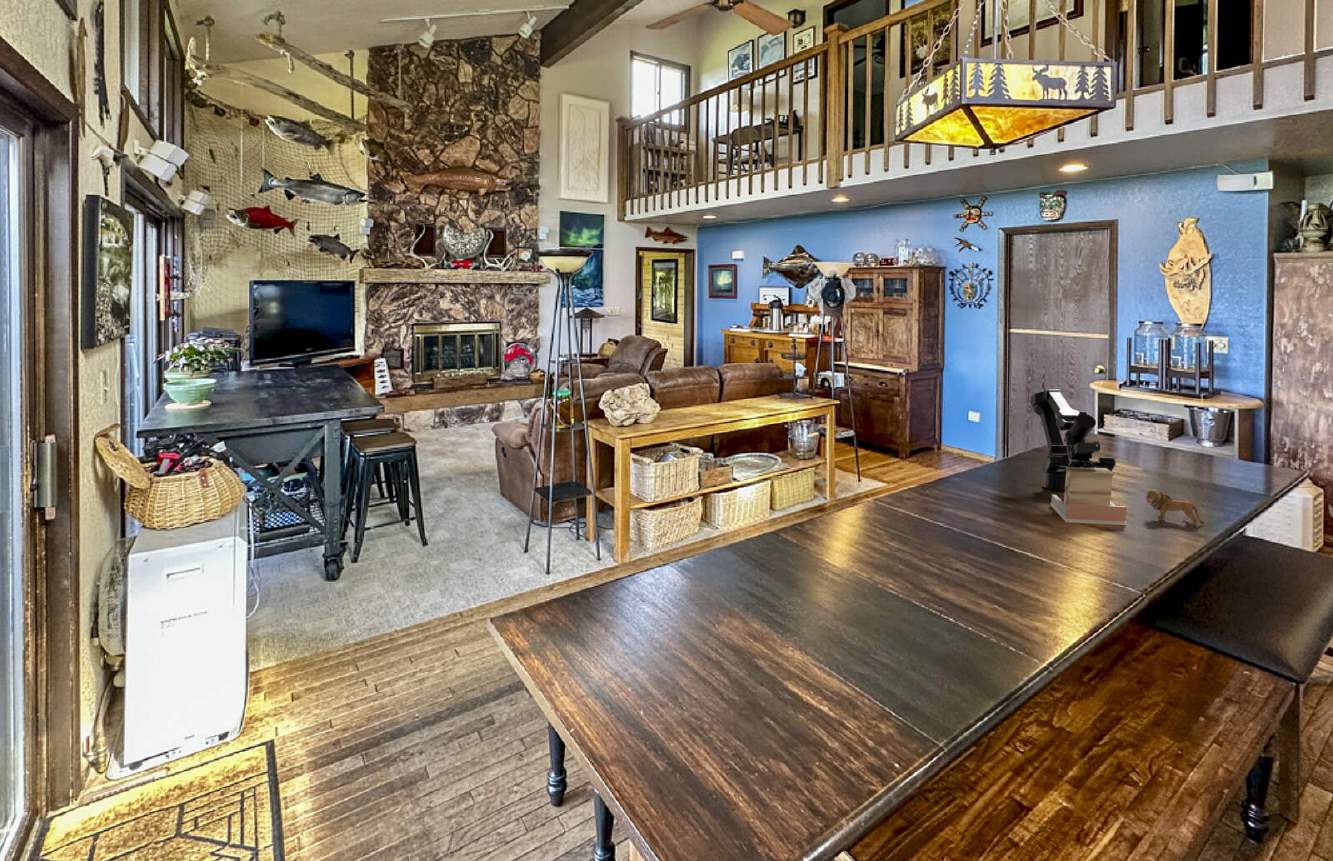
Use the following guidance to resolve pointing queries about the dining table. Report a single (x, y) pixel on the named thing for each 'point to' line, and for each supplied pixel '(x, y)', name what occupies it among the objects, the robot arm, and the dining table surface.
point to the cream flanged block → (1088, 486)
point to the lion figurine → (1171, 506)
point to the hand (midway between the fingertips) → (1084, 486)
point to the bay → (1090, 512)
